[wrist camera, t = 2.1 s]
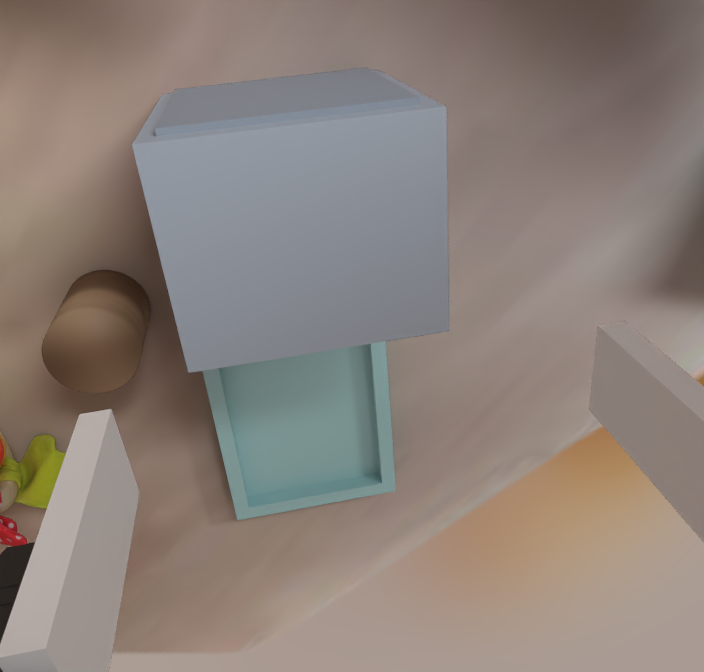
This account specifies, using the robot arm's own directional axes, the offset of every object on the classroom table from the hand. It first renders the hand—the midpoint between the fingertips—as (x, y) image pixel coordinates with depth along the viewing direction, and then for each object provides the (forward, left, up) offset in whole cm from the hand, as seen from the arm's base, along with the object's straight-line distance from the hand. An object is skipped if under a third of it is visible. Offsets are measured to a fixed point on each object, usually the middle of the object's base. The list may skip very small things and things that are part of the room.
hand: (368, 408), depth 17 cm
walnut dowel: (+7, -12, -25) cm, 28 cm away
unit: (0, 0, -25) cm, 25 cm away
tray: (+16, -1, -25) cm, 29 cm away
